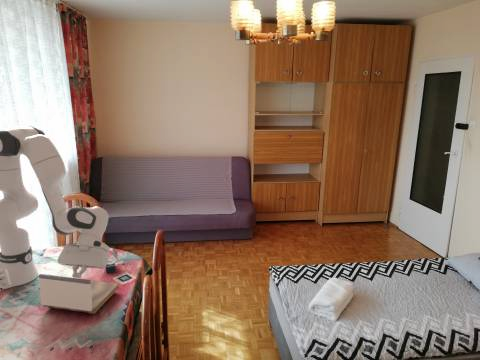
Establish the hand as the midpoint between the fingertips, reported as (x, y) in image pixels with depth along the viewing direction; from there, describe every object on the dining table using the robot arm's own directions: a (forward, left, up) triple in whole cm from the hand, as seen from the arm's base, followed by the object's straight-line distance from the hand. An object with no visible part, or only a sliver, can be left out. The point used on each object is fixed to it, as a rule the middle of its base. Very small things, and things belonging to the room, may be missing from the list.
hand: (76, 277), depth 134 cm
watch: (-3, +29, -13) cm, 32 cm away
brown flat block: (0, +3, -13) cm, 13 cm away
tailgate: (0, -7, -9) cm, 11 cm away
